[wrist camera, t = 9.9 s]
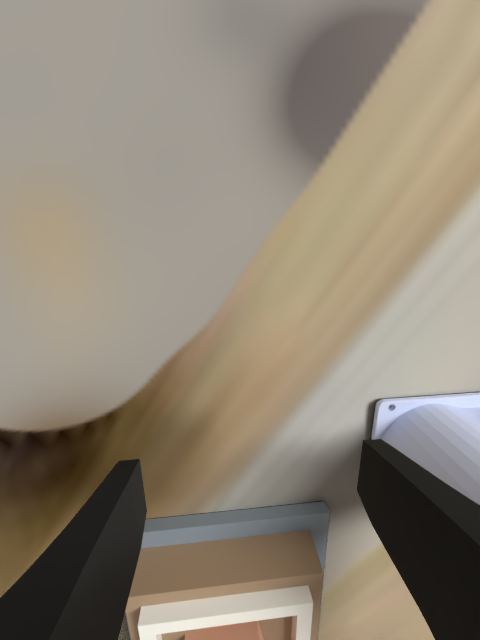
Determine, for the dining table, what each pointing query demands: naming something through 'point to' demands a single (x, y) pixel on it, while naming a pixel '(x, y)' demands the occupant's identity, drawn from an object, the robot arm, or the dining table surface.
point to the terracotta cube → (228, 632)
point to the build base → (231, 573)
